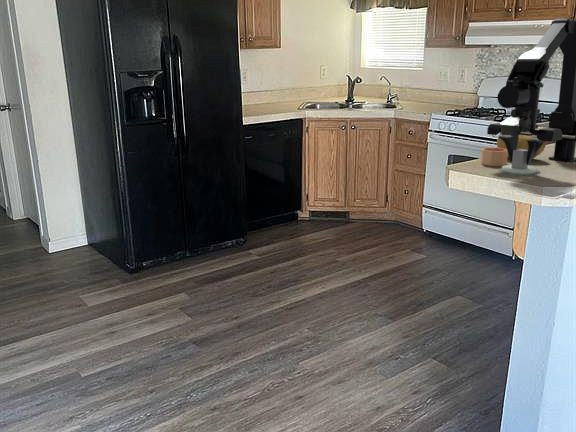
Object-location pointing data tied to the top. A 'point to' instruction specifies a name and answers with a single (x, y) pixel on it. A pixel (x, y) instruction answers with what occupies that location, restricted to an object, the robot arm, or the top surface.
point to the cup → (493, 156)
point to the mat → (519, 174)
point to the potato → (521, 144)
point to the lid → (519, 163)
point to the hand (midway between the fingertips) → (519, 163)
